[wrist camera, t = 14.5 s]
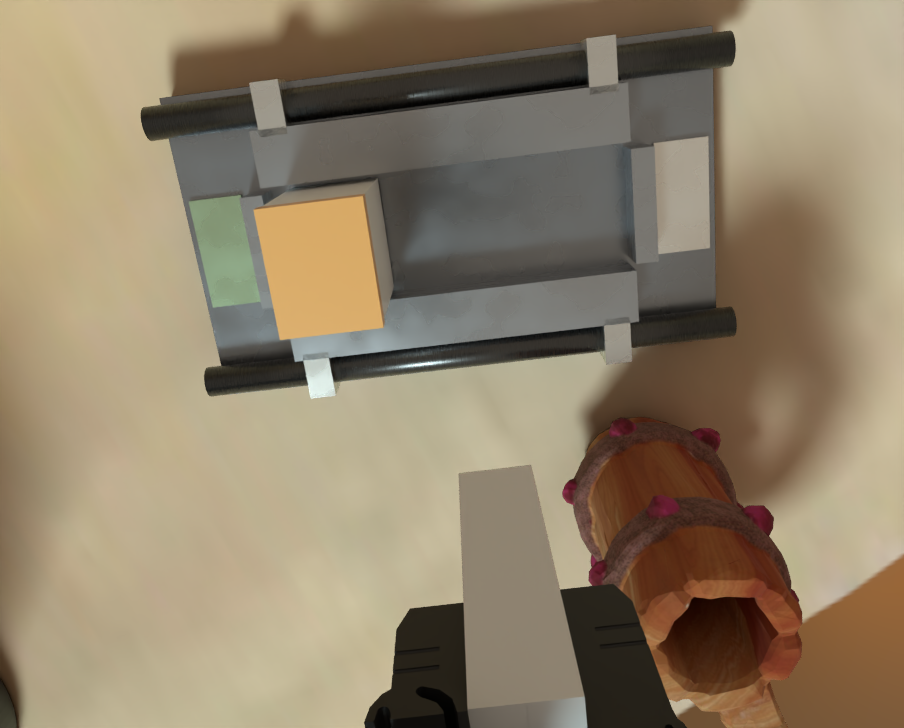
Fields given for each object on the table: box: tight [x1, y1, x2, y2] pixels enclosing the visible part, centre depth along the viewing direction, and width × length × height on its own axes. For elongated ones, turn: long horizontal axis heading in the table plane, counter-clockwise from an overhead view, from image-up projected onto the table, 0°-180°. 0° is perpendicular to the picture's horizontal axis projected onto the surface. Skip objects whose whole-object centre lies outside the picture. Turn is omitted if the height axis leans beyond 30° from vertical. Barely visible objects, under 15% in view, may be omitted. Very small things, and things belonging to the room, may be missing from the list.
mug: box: [562, 417, 802, 728], centre depth 36 cm, size 15×8×15 cm, turn 24°
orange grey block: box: [254, 178, 394, 340], centre depth 33 cm, size 4×5×7 cm
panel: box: [141, 26, 737, 398], centre depth 36 cm, size 25×14×3 cm, turn 97°
